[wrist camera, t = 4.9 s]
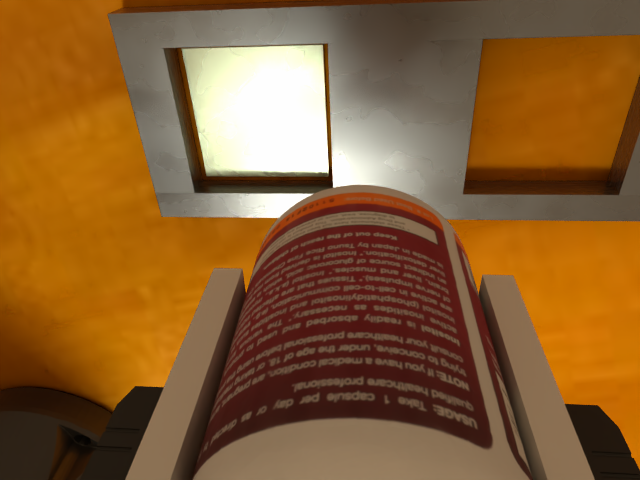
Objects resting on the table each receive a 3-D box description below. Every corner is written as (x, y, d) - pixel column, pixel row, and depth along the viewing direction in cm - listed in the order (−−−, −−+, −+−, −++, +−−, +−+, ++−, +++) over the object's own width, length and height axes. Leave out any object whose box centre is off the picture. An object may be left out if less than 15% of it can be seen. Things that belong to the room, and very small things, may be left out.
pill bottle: (220, 269, 15) (10, 789, 6) (356, 130, 13) (329, 711, 3) (364, 368, 17) (363, 872, 8) (510, 266, 15) (753, 867, 5)
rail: (171, 203, 29) (161, 216, 28) (122, 7, 23) (107, 13, 22) (643, 206, 26) (656, 221, 25) (724, -15, 20) (747, -10, 19)
